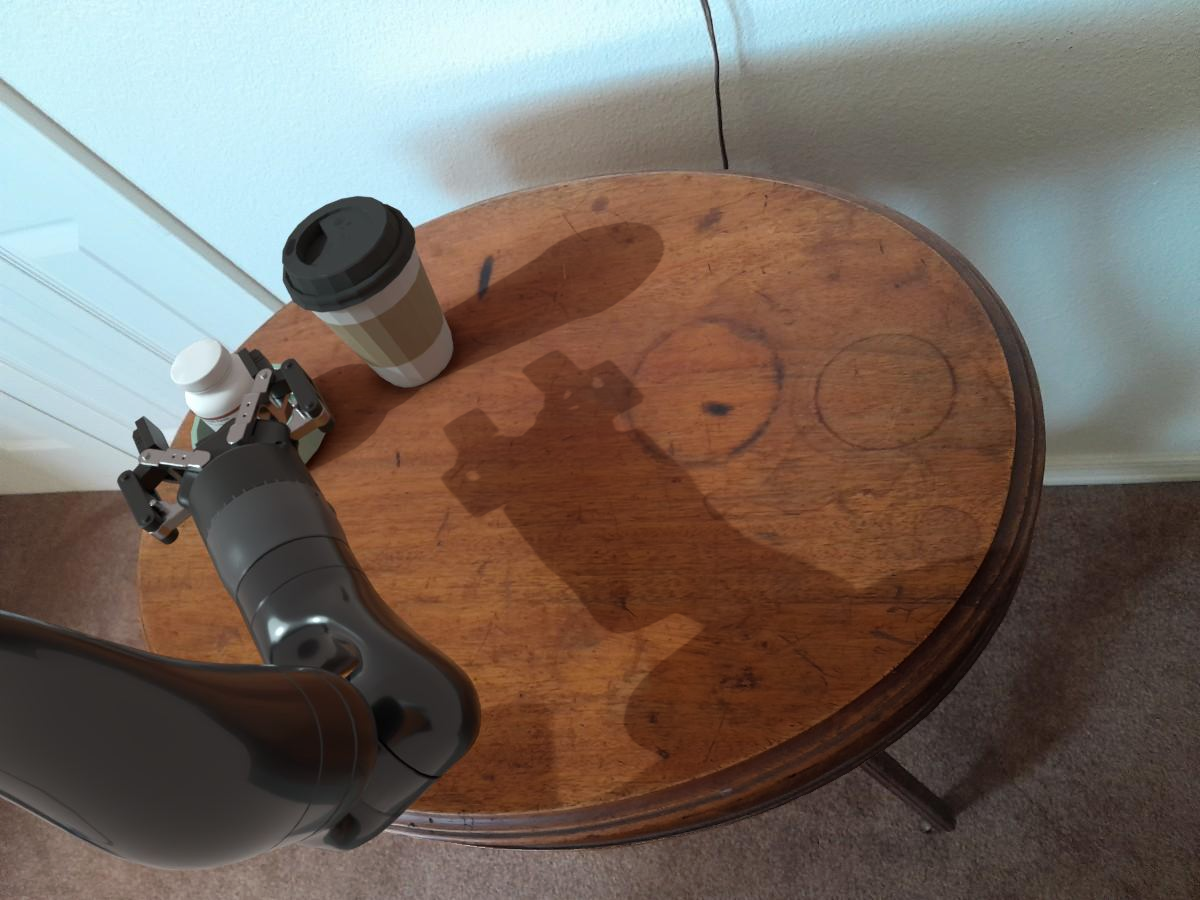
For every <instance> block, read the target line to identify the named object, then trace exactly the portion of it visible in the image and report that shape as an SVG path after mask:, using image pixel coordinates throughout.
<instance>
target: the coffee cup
mask: <svg viewBox="0 0 1200 900" xmlns="http://www.w3.org/2000/svg"><path fill="white" fill-rule="evenodd" d="M415 232H416V231H415V228H414V226H413V225H412V224H411V222H410V221H409V219H408V218H407V217H405V215H404V214H403V213H402V211H401V210H400V209H398V208H396V207H394V206H392V205H390V204H388V203H383V202H382V201H381V200H379V199H377V198H375V197H372V196H363V195H355V196H354V195H353V196H348V197H343V198H340V199H337V200H334V201H332V202H328V203H326V204H324V205H322V206H321V207H320V208H318V209H316V210H314V211H313V212H310V214H308V215H307V216H306V217H305V218H304V219H302V220H301V221H300V222H299V223H298V224H297V225H296V227H295V228H294V229H293V230H292V232H291V233H290V234H289V236H288V237H287V239H286V242H285V243H284V245H283V246H284V247H283V248H282V253H281V263H282V283H283V286H284V287H285V289H286V291H287V293H288V294H289V296H290V299H291V301H292V302H293V303H294V304H295V305H297V306H298V307H300V308H301V309H303V310H305V311H310V312H312V313H313V314H314V315H315V316H316V317H317V318H318V319H319V320H320V321H321V322H323V323H324V325H326V326H327V327H328V328H329V329H330V330H331V331H332V332H333V333H334V334H335V335H336V336H337V337H338V338H339V339H340V340H342V341H343V342H344V343H345V344H346V345H347V346H348V347H349V348H350V349H351V350H352V351H353V352H354V353H355V354H356V355H357V356H358V357H359V358H361V360H363V361H364V362H365V363H366V364H367V365H368V366H369V367H370V368H371V369H372V370H373V371H374V372H375V373H376V374H377V375H378V376H379V377H381V378H382V379H384V381H386V382H389V383H390V384H392V385H393V386H395V387H399V388H416V387H418V386H421V385H424V384H426V383H428V382H430V381H432V380H433V379H434V378H436V377H437V376H439V375H440V374H441V373H442V372H443V371H444V370H445V369H446V368H447V366H448V364H449V363H450V361H451V359H452V356H453V353H454V343H453V342H454V341H453V337H452V336H453V335H452V331H451V329H450V327H449V324H448V321H447V320H446V317H445V314H444V313H443V309H442V308H441V305H440V303H439V300H438V298H437V295H436V293H435V291H434V289H433V286H432V283H431V282H430V279H429V277H428V274H427V272H426V269H425V267H424V264H423V262H422V260H421V257H420V255H419V253H418V250H417V248H416V243H417V241H416V233H415Z"/></svg>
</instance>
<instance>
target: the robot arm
mask: <svg viewBox="0 0 1200 900" xmlns="http://www.w3.org/2000/svg"><path fill="white" fill-rule="evenodd" d="M236 354H238V355H239V357H240V359H241V360H242V362H243V364H244V365H245V367H246V369H247V370H248V372H249V374H250V375H251V377H252V378H253V379H254V380H255V381H254V384H253V387H252V390H251V393H250V394H246V395H244V397H243V400H242V403H241V406H240V409H239V412H238V415H237V417H236V419H235V418H234V417H233V418H232V419H231V420H229V421H228V422H226V423H225V424H224V425H223V426H222V427H220V428H219V429H218V430H217V431H216V432H215V433H213V434H211V435H209V436H207V437H205V438H203V439H202V440H200V441H199V442H197V443H196V444H195V446H196V448H195V449H193V450H186V449H179V448H172V447H170V446H169V443H168V441H167V438H166V436H165V434H164V432H163V431H162V430H161V429H160V428H159V427H158V426H157V425H155V424H154V423H153V421H151V420H150V419H149V418H148V417H146V416H145V415H142V416H141V417H140V418H137V420H135V421H134V424H135V427H136V429H135V430H133V431H132V437H131V438H132V439H133V442H134V445H135V447H136V449H137V452H138V457H137V463H138V464H137V466H136V467H135V468H134V469H133V470H131V469H126V470H124V471H122V472H121V473H120V474H119V475H118V477H117V479H116V484H117V486H118V488H119V489H120V492H121V494H122V495H123V498H124V499H125V502H126V504H127V506H128V508H129V510H130V512H131V513H132V515H133V518H134V519H135V522H136V524H137V526H138V527H139V528H141V529H142V530H144V531H145V532H146V533H148V534H149V535H150V536H152V537H153V538H155V539H156V540H157V541H159V542H161V543H162V544H164V545H166V546H167V545H171V544H174V543H175V542H176V540H177V539H178V538H179V535H180V532H179V529H178V527H179V526H180V525H181V524H183V523H184V522H186V521H187V520H188V519H189V518H191V517H192V520H193V522H194V524H195V526H196V528H197V531H198V533H199V536H200V537H201V539H202V542H203V544H204V546H205V549H206V551H207V553H208V556H209V558H210V560H211V562H212V564H213V566H214V569H215V571H216V573H217V575H218V578H219V580H220V582H221V584H222V586H223V588H224V589H225V590H226V592H227V594H228V595H229V597H230V598H231V599H232V600H233V602H234V603H235V605H236V607H237V608H238V610H239V613H240V615H241V617H242V620H243V622H244V624H245V627H246V628H247V631H248V633H249V636H250V637H251V639H252V643H253V644H254V646H255V648H256V650H257V653H258V655H259V657H260V659H261V661H262V663H263V664H261V663H259V664H258V663H226V662H224V663H222V662H212V661H201V660H192V659H185V658H180V657H173V656H170V655H164V654H160V653H155V652H151V651H147V650H143V649H140V648H136V647H133V646H129V645H125V644H123V643H119V642H116V641H112V640H109V639H106V638H103V637H99V636H96V635H92V634H88V633H85V632H82V631H80V630H79V631H78V630H75V629H72V628H69V627H66V626H62V625H59V624H55V623H51V622H48V621H44V620H40V619H37V618H34V617H30V616H27V615H23V614H20V613H15V612H12V611H8V610H3V609H0V798H1V799H2V800H5V801H7V802H9V803H11V804H13V805H15V806H17V807H19V808H21V809H23V810H25V811H26V812H28V813H29V814H32V815H33V816H35V817H36V818H38V819H40V820H42V821H44V822H45V823H48V824H49V825H50V826H53V827H54V828H56V829H58V830H60V831H62V832H64V833H65V834H68V835H69V836H72V837H73V838H75V839H77V840H79V841H81V842H83V843H84V844H87V845H89V846H91V847H92V848H95V849H96V850H97V851H100V852H101V853H104V854H107V855H109V856H111V857H114V858H117V859H119V860H123V861H126V862H129V863H133V864H137V865H140V866H143V867H147V868H151V869H157V870H164V871H184V872H185V871H187V872H188V871H205V870H210V869H215V868H219V867H224V866H228V865H234V864H237V863H241V862H243V861H245V860H249V859H252V858H255V857H258V856H260V855H264V854H267V853H271V852H273V851H276V850H279V849H282V848H285V847H288V846H290V845H291V846H292V845H295V846H300V847H304V848H313V849H318V850H323V851H328V852H332V853H344V852H348V851H352V850H354V849H357V848H358V847H361V846H362V845H365V844H367V843H368V842H370V841H371V840H373V839H375V838H376V837H377V836H379V835H380V834H382V833H383V832H384V831H385V830H386V829H388V828H389V827H390V826H391V825H392V824H394V823H395V822H396V821H397V820H398V819H399V818H400V817H401V816H402V815H403V814H404V813H405V812H406V811H407V810H408V809H409V808H410V807H411V806H412V805H413V804H415V802H417V801H418V800H419V799H421V797H422V796H423V795H424V794H425V793H427V792H428V790H430V789H431V788H432V787H433V786H434V785H435V784H436V783H437V782H438V781H439V780H440V779H442V777H443V776H445V775H446V774H447V773H448V772H449V771H450V770H451V769H453V767H454V766H455V765H456V764H458V763H459V762H460V761H461V760H462V759H463V758H464V757H465V756H466V755H467V754H468V753H469V752H470V750H471V749H472V747H474V745H475V743H476V741H477V739H478V737H479V735H480V731H481V726H482V704H481V700H480V697H479V693H478V690H477V688H476V686H475V684H474V682H473V680H472V679H471V677H470V676H469V675H468V674H467V672H466V671H465V669H463V668H462V667H461V666H460V665H459V664H458V663H457V662H456V661H455V660H453V659H452V658H451V657H450V656H448V654H446V653H445V652H443V651H442V650H441V649H439V647H437V646H436V645H434V644H433V643H432V642H431V641H429V640H427V639H426V637H423V636H422V635H421V634H419V633H418V632H417V631H416V630H414V629H413V628H412V627H411V626H410V625H409V624H408V623H407V622H405V621H404V619H402V617H400V616H399V615H398V614H397V613H396V612H395V610H393V608H392V607H391V606H390V605H389V604H388V603H386V601H385V600H384V599H383V598H382V597H381V596H380V594H379V592H378V591H377V590H376V588H375V587H374V585H373V584H372V582H371V581H370V579H369V578H368V576H367V574H366V573H365V572H366V571H364V568H363V567H362V566H361V564H360V562H359V560H358V559H357V557H356V555H355V554H354V552H353V551H352V548H351V546H350V544H349V541H348V538H347V536H346V533H345V530H344V528H343V526H342V524H341V522H340V521H339V519H338V516H337V512H336V510H335V508H334V507H333V505H332V504H331V503H330V502H329V501H328V500H327V499H326V497H325V495H324V493H323V492H322V489H320V487H319V485H318V483H317V482H316V481H315V479H314V477H313V475H312V473H311V472H310V470H309V468H308V467H307V465H306V464H304V462H303V460H302V459H301V457H300V455H299V452H298V448H299V439H301V438H302V437H304V436H305V435H307V434H308V433H310V432H312V431H313V430H315V429H316V428H318V429H319V430H320V431H321V432H322V433H325V434H327V433H330V432H331V431H332V430H334V428H335V427H336V423H337V422H336V420H335V418H334V416H333V414H332V412H331V410H330V409H329V406H328V405H327V403H326V401H325V399H324V397H323V396H322V394H321V392H320V390H319V388H318V386H317V384H316V383H315V381H314V380H313V379H312V378H311V376H310V375H309V374H308V373H307V371H306V370H305V369H304V368H303V367H302V366H301V364H300V363H299V362H298V361H297V360H296V359H295V358H287V359H286V360H283V362H282V363H281V364H282V365H281V367H280V369H276V370H275V369H274V368H273V366H272V364H273V363H271V361H269V359H268V358H267V357H266V356H265V355H264V354H263V353H262V351H260V349H257V348H253V349H252V350H249V349H248V348H247V347H245V346H244V347H243V348H242V349H240V350H238V351H237V352H236ZM291 392H292V393H293V395H294V396H295V398H296V400H295V401H293V402H292V404H291V405H292V406H293V408H294V409H293V411H292V414H293V418H292V420H291V421H290V422H289V423H288V424H287V425H286V423H287V419H286V416H285V409H286V406H287V402H288V399H289V396H290V393H291ZM270 395H271V397H270V399H269V396H270ZM257 416H258V417H259V418H260V419H257ZM162 482H163V483H168V484H175V485H179V486H178V489H177V491H176V492H177V493H176V502H172V503H171V502H169V501H167V500H165V499H162V498H161V496H160V493H159V492H158V490H157V489H156V488H157V487H158V486H159V485H160V484H161V483H162ZM345 675H346V676H345ZM344 676H345V677H344Z"/></svg>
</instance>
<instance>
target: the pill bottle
mask: <svg viewBox="0 0 1200 900" xmlns="http://www.w3.org/2000/svg"><path fill="white" fill-rule="evenodd" d="M170 377H171V379H172V381H173V382H174V383H175V384H176V385H177V386H178V387H179V388H180V389H181V390H182V391H184V392H185V393H184V394H185V401H186V404H187V406H188V408H189V409H190V410H191V411H192V412H193V413H194V414H195V416H196V415H197V416H198V417H200V418H201V419H202V420H203V421H204V422H205V423H206V424H207V425H209V426H210V427H211V428H212V429H213V430H214V431H215V432H216V431H217V430H218V429H219V428H220V427H222V426H223V425H224V424H225V423H226V422H228V421H229V420H231V419H232V418H233V417H234V418H235V419H236V417H237V415H238V412H239V409H240V406H241V403H242V400H243V397H244V395H246V394H250V393H251V390H252V387H253V384H254V381H255V380H254V379H253V378H252V377H251V375H250V374H249V372H248V370H247V369H246V367H245V365H244V364H243V362H242V360H241V359H240V357H239V355H238V354H237V353H230V351H229V349H227V348H226V346H224V345H223V344H222V343H221V342H220V341H219V340H217V339H215V338H203V339H201V340H197V341H195V342H193V343H191V344H190V345H188V346H186V347H185V348H184V349H183V350H182V351H181V352H180V353H179V354H178V355H177V357H176V358H175V359H174V360H173V363H172V365H171V369H170ZM270 397H271V395H270V396H269V399H270ZM293 409H294V408H293V406H292V405H291V403H290V402H289V401H288V402H287V406H286V409H285V416H286V419H287V422H288V421H289V419H290V417H291V415H292V411H293ZM257 419H260V418H259V417H258V416H257Z"/></svg>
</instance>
